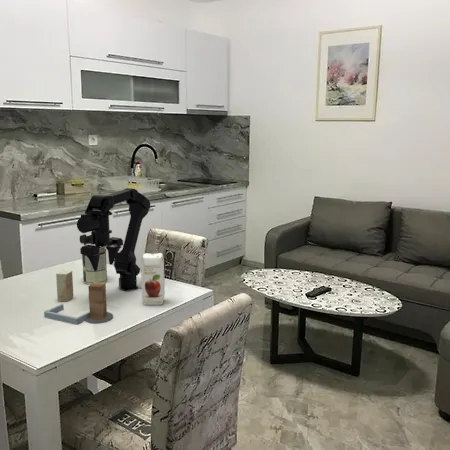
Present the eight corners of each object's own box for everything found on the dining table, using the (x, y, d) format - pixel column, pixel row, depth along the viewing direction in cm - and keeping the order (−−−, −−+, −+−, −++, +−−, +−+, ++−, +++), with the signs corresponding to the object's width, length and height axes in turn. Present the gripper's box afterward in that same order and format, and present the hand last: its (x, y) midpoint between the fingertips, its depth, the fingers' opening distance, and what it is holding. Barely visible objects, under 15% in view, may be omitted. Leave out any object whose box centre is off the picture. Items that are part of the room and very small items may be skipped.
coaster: (107, 310, 179) (107, 309, 179) (117, 319, 171) (117, 318, 171) (80, 315, 174) (80, 314, 174) (89, 325, 166) (88, 324, 165)
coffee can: (78, 281, 211) (76, 250, 208) (97, 276, 219) (95, 245, 217) (93, 286, 205) (92, 254, 203) (112, 280, 214) (111, 249, 211)
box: (67, 301, 187) (65, 274, 185) (57, 301, 188) (55, 273, 186) (74, 297, 192) (72, 270, 190) (64, 296, 193) (62, 269, 191)
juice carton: (143, 299, 191) (141, 252, 187) (165, 298, 192) (164, 252, 188) (141, 306, 184) (140, 257, 180) (164, 305, 184) (163, 257, 181)
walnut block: (94, 314, 175) (93, 282, 172) (106, 314, 174) (105, 282, 172) (89, 318, 170) (88, 286, 168) (102, 319, 170) (100, 286, 167)
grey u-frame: (61, 309, 180) (61, 303, 180) (93, 316, 174) (93, 310, 173) (44, 316, 173) (43, 311, 172) (76, 324, 166) (76, 319, 166)
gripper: (100, 221, 196) (102, 259, 199) (67, 230, 180) (70, 271, 183) (123, 224, 192) (124, 262, 195) (91, 233, 175) (93, 275, 178)
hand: (103, 267), depth 188 cm, fingers open, 9 cm apart
